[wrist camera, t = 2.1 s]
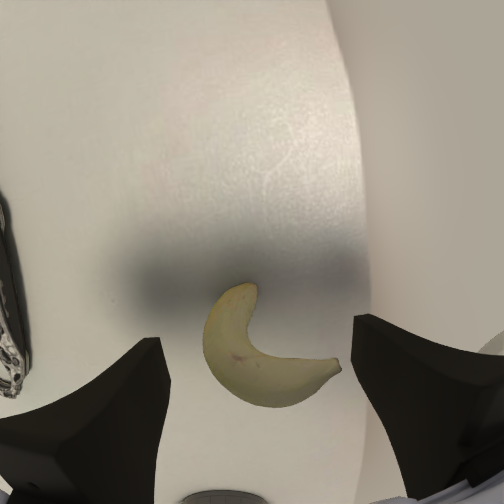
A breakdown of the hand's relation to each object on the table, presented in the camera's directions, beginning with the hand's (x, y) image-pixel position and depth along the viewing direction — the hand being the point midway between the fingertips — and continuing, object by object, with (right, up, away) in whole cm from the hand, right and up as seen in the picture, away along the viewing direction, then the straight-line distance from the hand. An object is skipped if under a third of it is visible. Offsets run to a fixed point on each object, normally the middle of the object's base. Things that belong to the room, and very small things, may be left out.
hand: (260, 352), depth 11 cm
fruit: (0, +2, +6) cm, 6 cm away
